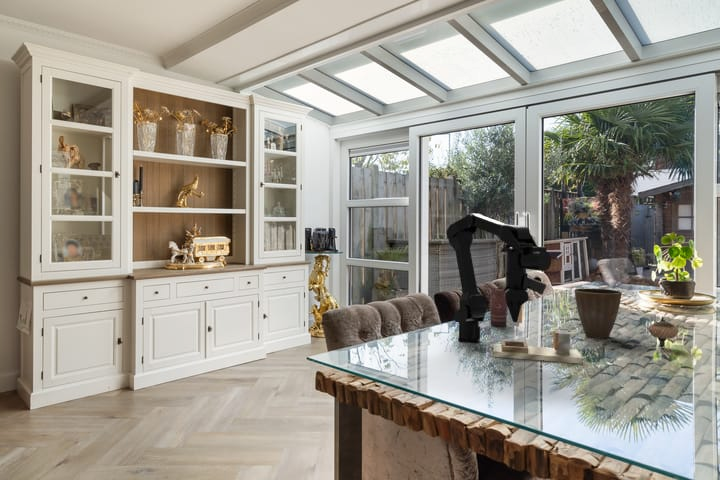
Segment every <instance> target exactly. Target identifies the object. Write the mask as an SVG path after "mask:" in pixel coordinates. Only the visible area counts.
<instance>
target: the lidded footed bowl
mask: <svg viewBox="0 0 720 480" xmlns="http://www.w3.org/2000/svg"><path fill="white" fill-rule="evenodd" d="M647 331H648V332H649V333H650V335H651V336H653V338H657V340H658V342H659V343H658V346H659V348H662V349H663V348H666V345H665V344H666V340H669V339H674V338H676V337H677V335H678V334H679V328H678V326H676V325H674V324H672V323H671V322H669V321H666V320H665V319H664V316H661V319H660V321H657V322H654V323H652V324H649V326H648V327H647Z"/></svg>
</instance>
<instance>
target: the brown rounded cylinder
mask: <svg viewBox="0 0 720 480" xmlns="http://www.w3.org/2000/svg"><path fill="white" fill-rule="evenodd" d="M504 294H505V293H504V288H491V290H490V306H489V307H490V309H489V311H490V312H489V313H490V314H489V319H490V320H489V321H490V325H491V326H493V327H506V326H507V324H508V306H507V303H506V301H505V295H504Z"/></svg>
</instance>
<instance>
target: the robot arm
mask: <svg viewBox="0 0 720 480" xmlns="http://www.w3.org/2000/svg"><path fill="white" fill-rule="evenodd" d="M478 230H482V231H485V232H487V233H490V234H492V235H495V236H496V237H498V239H499V240H500V241H501V242H502V243H504V244H505V246H504V247H502V248H501V249H500V252H501V253H505V258H506V259H505V285H504V286H503V289H504V293H505V294H504V295H505V301H506V303H507V310H508V309H509V312H510V314H511V317H512V320H513V322H517V321H518V317H519V313H520V309H521V306H522V307H523V305H524V304H525V303H527V302H529V293H528V289H529V290H530V291H533V292H535V293H537V294H539V295H541V296H543V295H544V292H545V290H546V288H547V285H548V284H547V283H545V282H543V281H542V278H541V277H539V276H537V275H536V276H534V277H529V276H528V272H527V270H531V271H539V272H546V271H548V270H549V269H550V267H551V265H552V258H551V255H550V253H549V251H547V247H546V246H538V244H537V243H536V241H535V239H534V238H533V236H532V235H531V231H530V229H529V227H527V226H526V225H525V226H524V225H519V224H517V225H516V224H506V223H505V222H504V223H503V222H501V221H498V220H496V219H493V218H490V217H487V216H484V215H483V214H482V213H469V214H467V215H465V217H463V218H461V219H459V220H456V221H455V222H454V223H451V224H449V226H448V228H447V229H446V237H447V240H448V243H449V245H450V246H451V247H452V249H453V250H454V253H455V257H456V258H455V259H456V261H457V263H456V264H457V269H458V273H459V281H460V286H461V291H462V293H461V295H460V299H459V308H458V310H456V312H455V313H453V320H454V322H455V323H458V338H457V341H458V342H464V343H465V342H466V343H467V342H468V343H479V341H480V340H481V326H480V325H479V323H483V322H484V319H485V317H486V313H487V312H488V311H487V310H488V304H487V298H486V295H485V294H481V293H480V291H479V290H478V285H477V281H476V280H477V279H476V274H475V268H474V264H473V257H472V252H471V247H472V244H473V241H474V234H476V233H477V232H478Z"/></svg>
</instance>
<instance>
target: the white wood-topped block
mask: <svg viewBox="0 0 720 480" xmlns="http://www.w3.org/2000/svg"><path fill="white" fill-rule="evenodd" d="M522 323H523V305H522V306H521V309H520V313H519V317H518V321H517V322H513V320H512V317H511V314H510V312H509V309H508V308H507V324H508V325H507V326H509V327H520V324H522Z"/></svg>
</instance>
